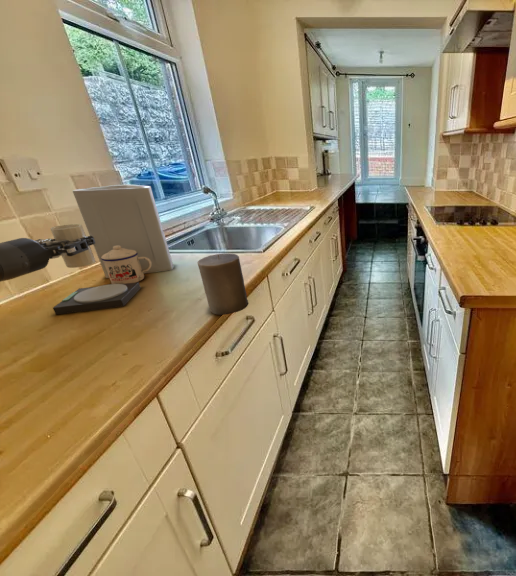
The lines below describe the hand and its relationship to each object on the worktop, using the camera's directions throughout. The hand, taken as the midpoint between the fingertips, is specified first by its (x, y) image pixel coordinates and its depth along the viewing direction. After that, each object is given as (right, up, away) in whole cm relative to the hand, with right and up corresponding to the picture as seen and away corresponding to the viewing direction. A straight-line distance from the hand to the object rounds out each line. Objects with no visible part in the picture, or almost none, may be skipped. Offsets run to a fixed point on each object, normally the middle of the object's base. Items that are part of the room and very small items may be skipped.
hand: (81, 239), depth 84 cm
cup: (0, -6, 0) cm, 6 cm away
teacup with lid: (-2, -10, +20) cm, 23 cm away
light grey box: (-7, -5, +31) cm, 33 cm away
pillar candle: (+38, -18, +3) cm, 42 cm away
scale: (0, -16, +7) cm, 18 cm away
